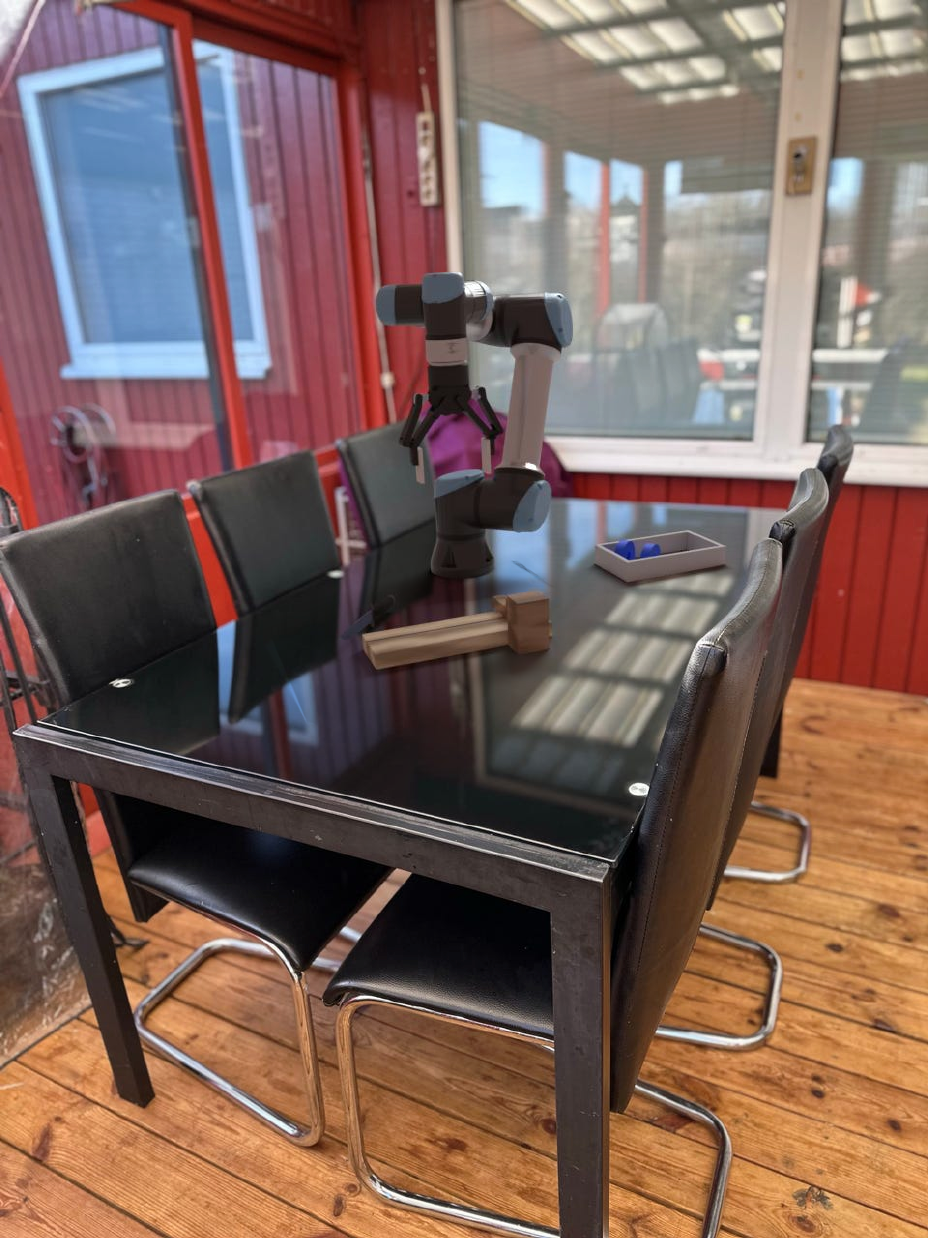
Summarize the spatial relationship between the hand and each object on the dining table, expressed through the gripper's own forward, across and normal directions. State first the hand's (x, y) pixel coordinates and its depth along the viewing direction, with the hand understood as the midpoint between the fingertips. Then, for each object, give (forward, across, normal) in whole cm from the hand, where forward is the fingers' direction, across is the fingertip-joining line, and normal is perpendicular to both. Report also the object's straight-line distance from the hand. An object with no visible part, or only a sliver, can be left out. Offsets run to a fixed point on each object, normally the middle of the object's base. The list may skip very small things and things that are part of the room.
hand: (454, 477), depth 170 cm
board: (+28, -6, -14) cm, 32 cm away
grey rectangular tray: (+29, +51, +7) cm, 59 cm away
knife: (+28, -20, -1) cm, 34 cm away
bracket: (+32, +50, +10) cm, 60 cm away
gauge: (+28, +4, -22) cm, 36 cm away
